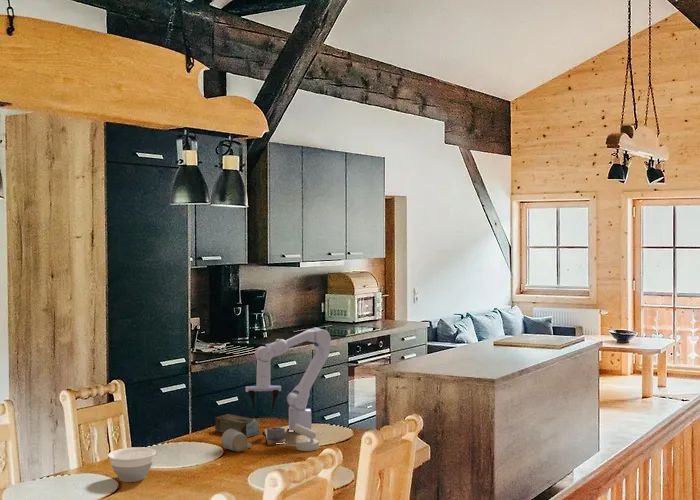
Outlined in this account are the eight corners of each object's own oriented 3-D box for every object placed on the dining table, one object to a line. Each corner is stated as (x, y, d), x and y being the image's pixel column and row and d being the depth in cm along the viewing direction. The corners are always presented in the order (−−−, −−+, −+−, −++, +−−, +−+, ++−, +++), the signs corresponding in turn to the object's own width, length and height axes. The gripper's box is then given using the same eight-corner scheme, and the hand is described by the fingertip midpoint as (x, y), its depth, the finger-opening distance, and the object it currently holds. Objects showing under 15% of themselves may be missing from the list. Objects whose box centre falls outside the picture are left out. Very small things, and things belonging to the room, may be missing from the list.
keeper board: (280, 431, 351) (280, 417, 351) (286, 444, 330) (285, 429, 330) (264, 431, 350) (263, 418, 350) (268, 445, 328) (268, 430, 328)
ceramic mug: (233, 454, 316) (233, 433, 316) (220, 450, 322) (221, 430, 322) (256, 449, 323) (256, 429, 323) (243, 445, 329) (243, 426, 329)
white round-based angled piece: (293, 420, 328) (319, 420, 328) (294, 445, 328) (319, 445, 328) (291, 425, 320) (318, 425, 319) (292, 450, 320) (318, 450, 320)
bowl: (137, 468, 298) (137, 444, 297) (165, 476, 288) (165, 451, 287) (98, 479, 285) (98, 454, 285) (126, 488, 275) (126, 462, 275)
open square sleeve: (277, 436, 338) (277, 426, 337) (284, 438, 334) (284, 428, 334) (267, 438, 334) (267, 428, 334) (274, 440, 330) (274, 430, 330)
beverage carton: (246, 438, 341) (246, 422, 341) (213, 431, 353) (213, 416, 352) (260, 434, 347) (259, 418, 347) (227, 428, 359) (227, 412, 359)
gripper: (280, 373, 352) (279, 406, 352) (245, 374, 349) (245, 407, 349) (281, 376, 345) (281, 409, 345) (246, 377, 342) (245, 410, 342)
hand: (263, 408), depth 347 cm, fingers open, 7 cm apart
